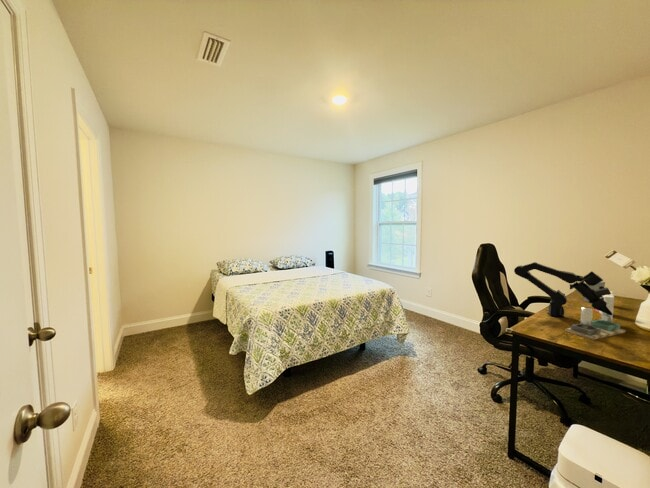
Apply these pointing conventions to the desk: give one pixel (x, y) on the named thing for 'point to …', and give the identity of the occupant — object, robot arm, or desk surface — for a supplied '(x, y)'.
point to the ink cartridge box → (607, 298)
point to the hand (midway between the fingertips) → (610, 312)
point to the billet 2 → (606, 316)
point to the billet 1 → (586, 318)
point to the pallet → (596, 329)
